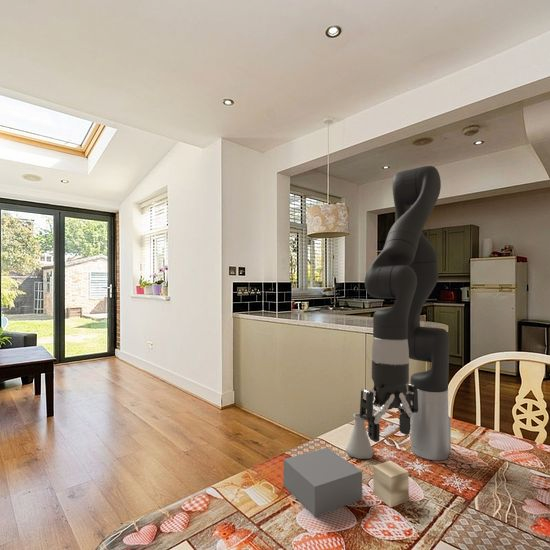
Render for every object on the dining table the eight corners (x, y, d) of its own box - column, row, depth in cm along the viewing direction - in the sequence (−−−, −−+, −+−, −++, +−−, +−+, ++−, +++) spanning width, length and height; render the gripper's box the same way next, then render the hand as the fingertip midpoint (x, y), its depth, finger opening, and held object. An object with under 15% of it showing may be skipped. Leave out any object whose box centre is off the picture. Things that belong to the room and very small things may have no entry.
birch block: (390, 488, 76) (390, 460, 77) (408, 500, 72) (408, 471, 72) (373, 494, 74) (373, 465, 74) (390, 507, 70) (390, 477, 70)
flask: (374, 461, 88) (374, 421, 88) (345, 458, 90) (345, 419, 90) (372, 448, 95) (372, 411, 95) (345, 445, 97) (345, 409, 97)
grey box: (327, 473, 83) (327, 447, 83) (362, 500, 72) (362, 471, 73) (283, 486, 77) (283, 459, 77) (314, 518, 67) (314, 486, 67)
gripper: (400, 354, 81) (400, 425, 80) (352, 358, 74) (351, 435, 74) (428, 360, 74) (428, 438, 73) (377, 365, 68) (376, 450, 67)
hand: (389, 436), depth 73 cm, fingers open, 8 cm apart
